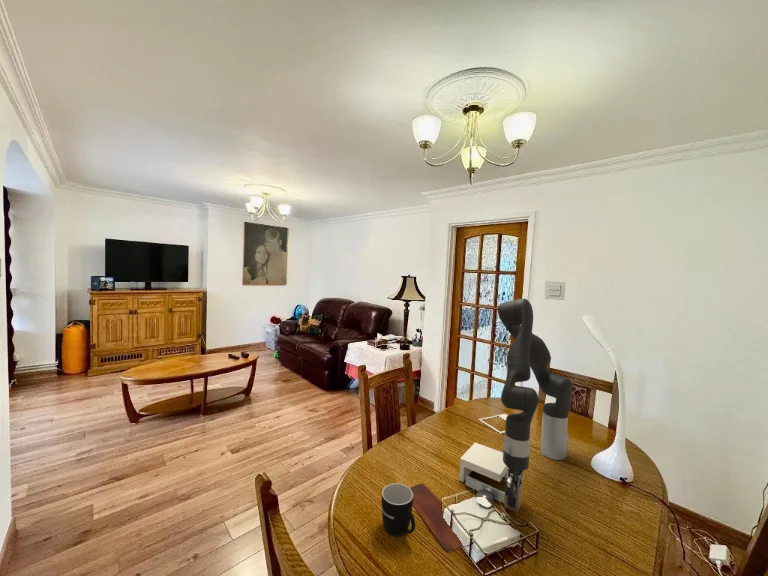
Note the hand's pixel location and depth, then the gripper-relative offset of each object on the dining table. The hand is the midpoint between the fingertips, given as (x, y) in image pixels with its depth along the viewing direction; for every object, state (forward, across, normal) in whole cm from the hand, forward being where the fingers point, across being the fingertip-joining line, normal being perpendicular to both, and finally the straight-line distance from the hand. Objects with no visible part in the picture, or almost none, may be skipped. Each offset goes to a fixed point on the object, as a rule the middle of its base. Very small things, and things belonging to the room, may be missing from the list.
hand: (513, 502), depth 99 cm
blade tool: (+1, 0, -7) cm, 7 cm away
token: (+2, +3, -8) cm, 9 cm away
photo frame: (+3, -58, -20) cm, 61 cm away
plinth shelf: (+2, -9, -12) cm, 15 cm away
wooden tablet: (+3, +18, -18) cm, 25 cm away
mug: (+2, +30, -23) cm, 38 cm away
